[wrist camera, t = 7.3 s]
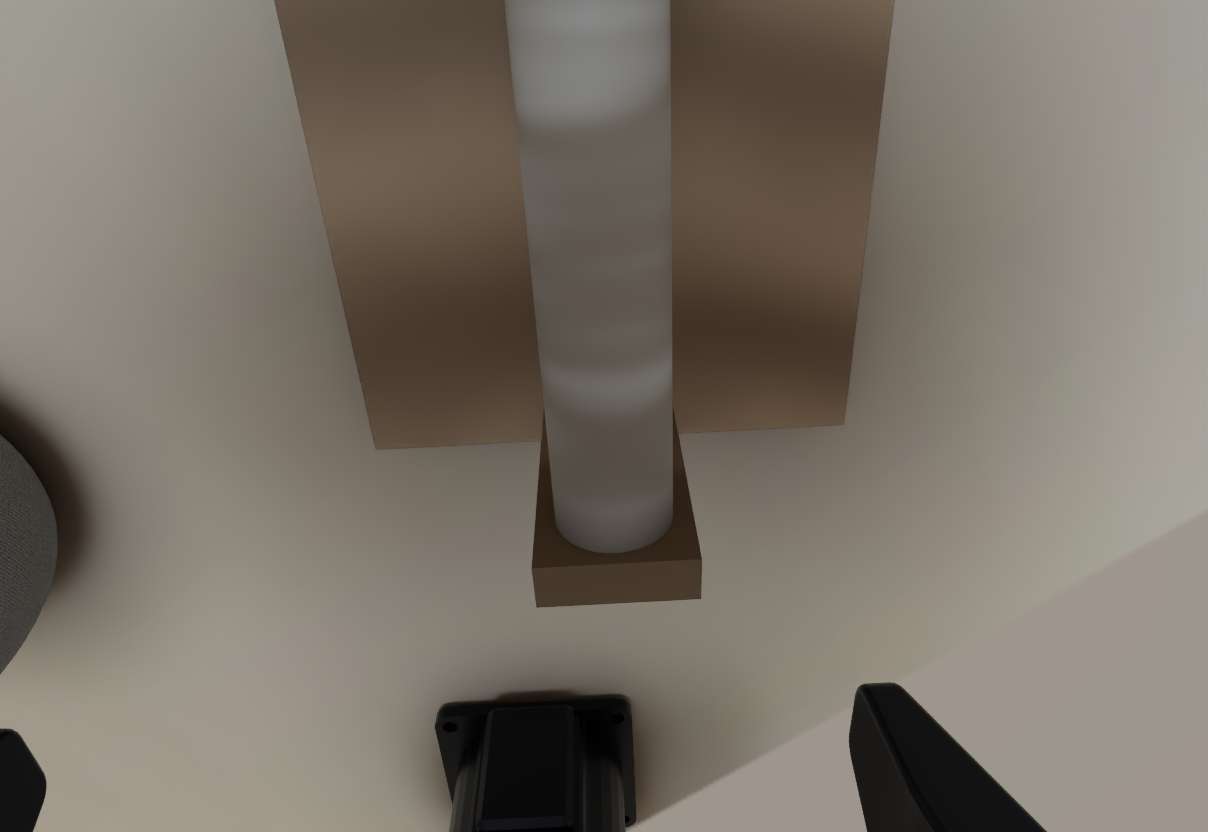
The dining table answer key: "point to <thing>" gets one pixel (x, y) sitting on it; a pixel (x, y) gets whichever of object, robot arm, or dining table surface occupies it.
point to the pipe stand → (595, 239)
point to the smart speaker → (23, 549)
